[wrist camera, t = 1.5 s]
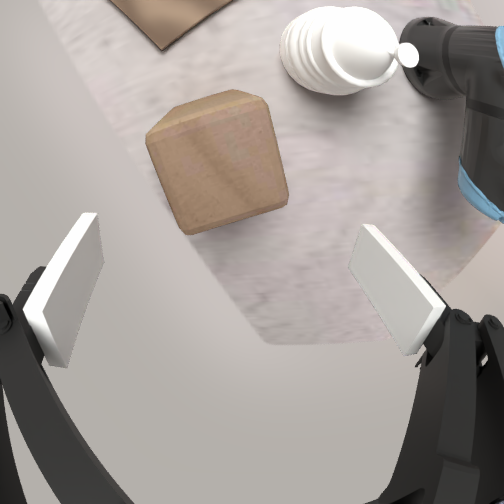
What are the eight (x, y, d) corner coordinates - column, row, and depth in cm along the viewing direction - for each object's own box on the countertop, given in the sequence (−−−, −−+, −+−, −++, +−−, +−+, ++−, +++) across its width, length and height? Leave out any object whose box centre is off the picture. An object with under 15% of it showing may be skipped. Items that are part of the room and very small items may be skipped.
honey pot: (372, 36, 34) (453, 31, 19) (346, 106, 40) (419, 130, 25) (296, -1, 30) (353, -39, 15) (266, 73, 36) (309, 71, 21)
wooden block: (190, 172, 43) (182, 242, 26) (167, 109, 37) (138, 134, 20) (256, 152, 42) (294, 208, 26) (238, 87, 37) (267, 94, 20)
